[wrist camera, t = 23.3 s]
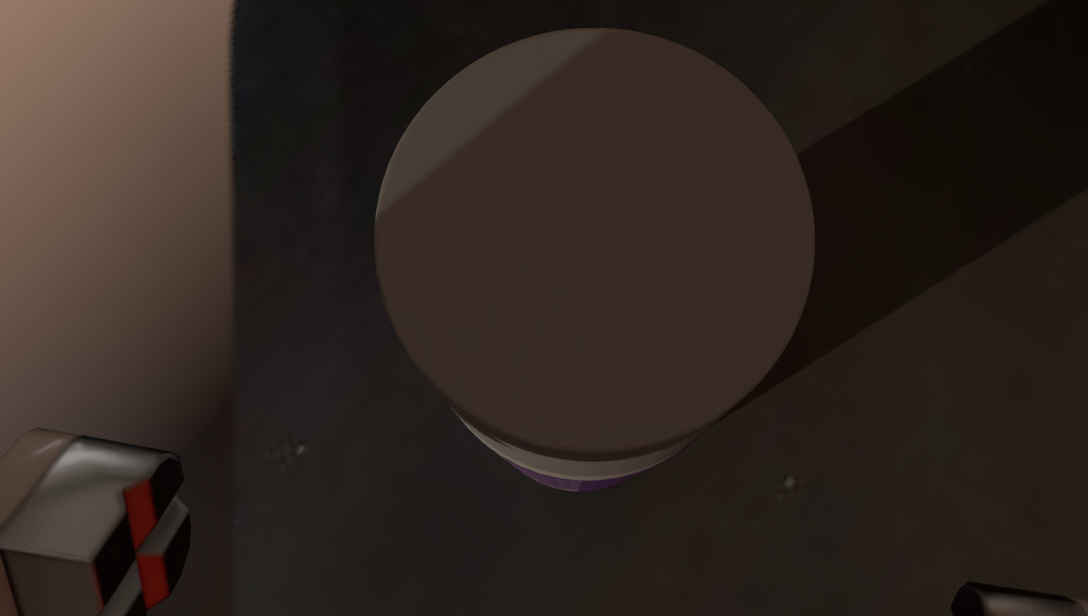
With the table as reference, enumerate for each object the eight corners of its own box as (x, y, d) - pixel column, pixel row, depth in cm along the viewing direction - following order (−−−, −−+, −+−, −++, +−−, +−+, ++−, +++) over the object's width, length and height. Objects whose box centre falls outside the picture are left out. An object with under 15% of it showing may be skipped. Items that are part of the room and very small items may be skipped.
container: (700, 461, 24) (897, 389, 10) (514, 516, 24) (426, 527, 10) (642, 280, 25) (742, -37, 11) (462, 332, 25) (311, 84, 10)
